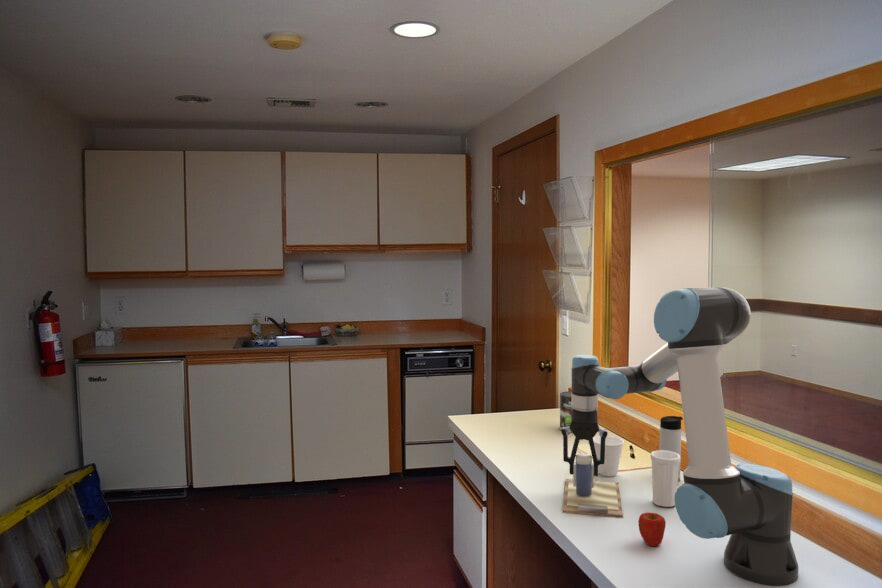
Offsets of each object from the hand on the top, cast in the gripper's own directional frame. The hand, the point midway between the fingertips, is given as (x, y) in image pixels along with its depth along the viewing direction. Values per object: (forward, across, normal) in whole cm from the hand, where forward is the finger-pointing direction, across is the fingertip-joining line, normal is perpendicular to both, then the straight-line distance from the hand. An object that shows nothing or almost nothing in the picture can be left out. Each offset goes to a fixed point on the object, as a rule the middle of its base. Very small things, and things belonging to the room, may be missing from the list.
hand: (583, 485), depth 186 cm
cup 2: (+3, -22, +2) cm, 23 cm away
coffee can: (+3, +4, -67) cm, 68 cm away
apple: (+3, -16, +28) cm, 32 cm away
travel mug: (+3, -27, -18) cm, 32 cm away
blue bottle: (+2, 0, +2) cm, 3 cm away
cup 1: (+3, -8, -19) cm, 21 cm away
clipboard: (+3, -2, +2) cm, 4 cm away
